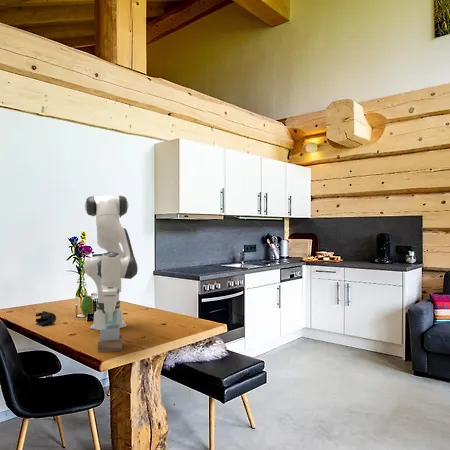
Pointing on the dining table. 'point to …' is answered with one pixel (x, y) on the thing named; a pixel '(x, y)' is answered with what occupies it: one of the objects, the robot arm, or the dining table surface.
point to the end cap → (45, 319)
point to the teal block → (113, 318)
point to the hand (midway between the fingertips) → (111, 319)
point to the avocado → (86, 305)
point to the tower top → (109, 332)
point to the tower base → (110, 345)
